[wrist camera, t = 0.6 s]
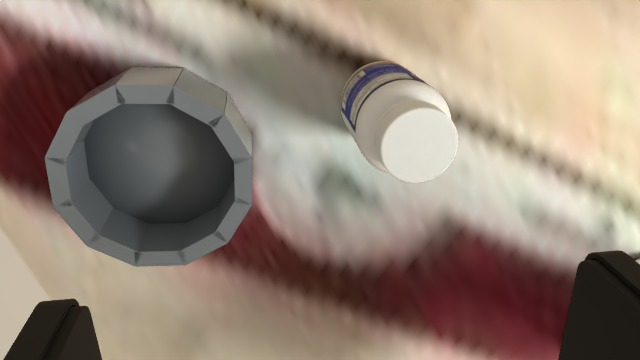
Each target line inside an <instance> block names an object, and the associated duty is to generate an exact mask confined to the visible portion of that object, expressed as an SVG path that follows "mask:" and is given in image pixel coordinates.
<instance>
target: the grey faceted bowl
mask: <svg viewBox="0 0 640 360" xmlns="http://www.w3.org/2000/svg"><path fill="white" fill-rule="evenodd" d="M45 163H46V169H47V175H48V180H49V186H50V192H51V197H52V203H53V207H54V209H55V210H56V211H57V212H58V213H59V214H60V215H61V217H62V218H63V219H64V220H65V221H66V222H67V224H68V225H69V226H70V227H71V228H72V229H73V230H74V232H75V233H76V234H77V235H78V236H79V237H80V239H81V240H82V241H83V242H84V243H85V244H86V245H88V247H90V248H93V249H95V250H97V251H100V252H102V253H105V254H107V255H109V256H112V257H114V258H116V259H119V260H121V261H123V262H126V263H128V264H131V265H133V266H168V265H185V264H186V265H187V264H189V263H190V262H192V261H194V260H196V259H198V258H200V257H202V256H204V255H206V254H208V253H210V252H211V251H213V250H215V249H217V248H219V247H221V246H223V245H225V244H227V242H229V240H230V239H231V237H232V236H233V234H234V232H235V231H236V229H237V228H238V226H239V225H240V223H241V221H242V220H243V218H244V217H245V215H246V214H247V212H248V211H249V209H250V207H251V206H252V132H251V130H250V128H249V127H248V125H247V124H246V122H245V120H244V119H243V117H242V115H241V114H240V112H239V111H238V109H237V107H236V106H235V104H234V102H233V101H232V99H231V98H230V96H229V94H228V93H227V92H226V91H224V90H222V89H220V88H219V87H217V86H215V85H213V84H211V83H210V82H208V81H206V80H204V79H203V78H201V77H199V76H197V75H196V74H194V73H192V72H190V71H189V70H187V69H185V68H184V69H183V68H172V67H131V68H129V69H128V70H126V71H124V72H122V73H121V74H119V75H117V76H115V77H113V78H112V79H110V80H108V81H106V82H105V83H103V84H101V85H99V86H98V87H96V88H94V89H92V90H91V91H90V92H88V93H87V94H86V95H85V96H84V97H83V98H82V99H81V100H79V101H78V102H77V103H76V104H75V105H74V106H73V107H72V108H70V109H69V110H68V111H67V112H66V114H65V116H64V118H63V120H62V122H61V124H60V127H59V129H58V131H57V133H56V135H55V137H54V139H53V141H52V143H51V145H50V147H49V149H48V151H47V154H46V156H45Z"/></svg>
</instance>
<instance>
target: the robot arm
mask: <svg viewBox="0 0 640 360" xmlns="http://www.w3.org/2000/svg"><path fill="white" fill-rule="evenodd" d="M4 360H102V357H101V353H100V349H99V345H98V341H97V337H96V333H95V329H94V325H93V321H92V317H91V313H90V310H89V308H88V307H87V306H79V303H78V302H77V301H76V300H75V299H64V300H53V301H43V302H40V303H39V304H38V305H37V306H36V307H35V309H34V310H33V312H32V314H31V315H30V317H29V318H28V320H27V322H26V323H25V325H24V327H23V329H22V330H21V332H20V333H19V335H18V337H17V338H16V340H15V342H14V343H13V345H12V346H11V348H10V350H9V352H8V353H7V355H6V356H5V358H4ZM558 360H640V259H638V260H634V259H632V258H631V257H630V256H629V255H627V254H626V253H624V252H623V251H606V252H595V253H590V254H588V256H587V257H586V258H585V261H582V262H581V263H580V264H579V266H578V269H577V273H576V278H575V283H574V288H573V293H572V297H571V302H570V307H569V312H568V316H567V321H566V326H565V331H564V336H563V340H562V345H561V350H560V355H559V359H558Z"/></svg>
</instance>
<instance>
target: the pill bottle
mask: <svg viewBox="0 0 640 360" xmlns="http://www.w3.org/2000/svg"><path fill="white" fill-rule="evenodd" d="M340 108H341V114H342V118H343V120H344V122H345V124H346V126H347V128H348V129H349V131H350V133H351V135H352V136H353V138H354V140H355V142H356V143H357V145H358V147H359V149H360V151H361V153H362V154H363V155H364V157H365V158H366V160H367V161H368V162H369V163H370V164H372V165H373V166H374V167H376V168H377V169H379V170H381V171H384V172H386V173H390V174H391V175H392V176H394V177H395V178H397V179H399V180H401V181H404V182H409V183H420V182H425V181H428V180H431V179H433V178H435V177H437V176H438V175H440V174H441V173H442V172H444V171H445V170H446V169H447V167H448V166H449V165H450V164H451V162H452V161H453V159H454V157H455V154H456V151H457V147H458V134H457V130H456V127H455V125H454V123H453V122H452V120H451V115H450V111H449V108H448V106H447V104H446V102H445V100H444V99H443V97H442V96H441V95H440V94H439V93H438V92H437V91H436V90H435V89H434V88H432V87H431V86H430V85H428V84H427V83H425V82H424V81H423V80H421V79H420V78H419V77H417V76H416V75H414V74H413V73H411V72H410V71H409V70H407V69H406V68H404V67H403V66H401V65H399V64H396V63H393V62H388V61H378V62H373V63H369V64H367V65H365V66H363V67H361V68H359V69H358V70H357V71H356V72H354V73H353V74H352V75H351V77H350V78H349V79H348V81H347V82H346V84H345V86H344V88H343V91H342V94H341V99H340Z"/></svg>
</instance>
